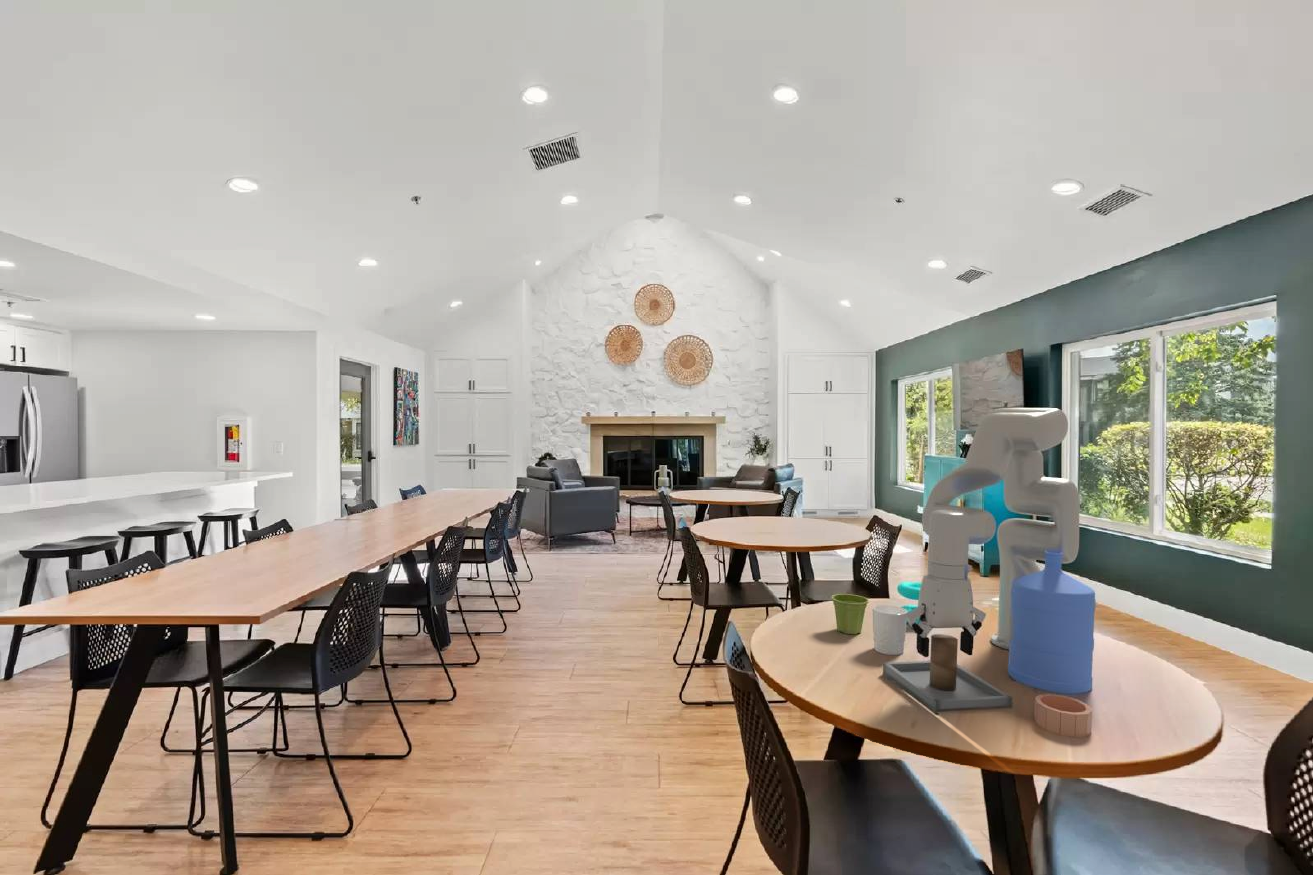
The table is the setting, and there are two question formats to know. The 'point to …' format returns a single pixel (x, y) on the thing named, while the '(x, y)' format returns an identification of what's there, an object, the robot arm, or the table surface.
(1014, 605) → the water jug
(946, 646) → the walnut cylinder
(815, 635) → the table surface
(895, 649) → the white cup
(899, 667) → the slate tray
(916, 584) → the donuts
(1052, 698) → the terracotta cup
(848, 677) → the table surface
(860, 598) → the plant pot
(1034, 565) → the robot arm
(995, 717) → the table surface
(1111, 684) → the table surface
